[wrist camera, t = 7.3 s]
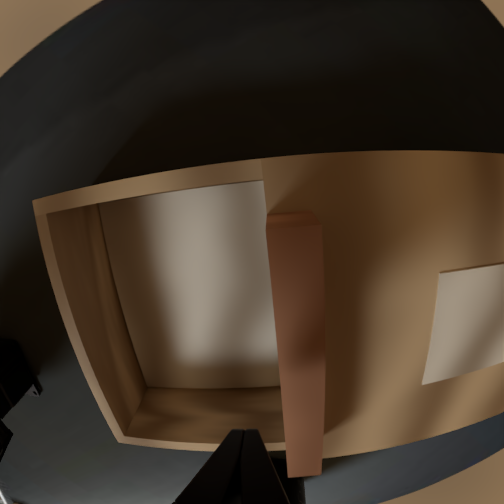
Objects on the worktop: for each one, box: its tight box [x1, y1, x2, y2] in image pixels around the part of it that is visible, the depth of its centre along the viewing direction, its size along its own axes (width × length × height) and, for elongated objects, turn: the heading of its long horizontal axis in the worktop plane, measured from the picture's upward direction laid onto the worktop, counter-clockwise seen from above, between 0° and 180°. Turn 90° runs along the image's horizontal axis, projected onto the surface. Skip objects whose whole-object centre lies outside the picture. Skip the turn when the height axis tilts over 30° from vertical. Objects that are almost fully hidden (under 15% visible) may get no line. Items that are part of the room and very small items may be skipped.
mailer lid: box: [261, 151, 504, 478], centre depth 12 cm, size 18×16×3 cm
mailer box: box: [32, 150, 421, 451], centre depth 17 cm, size 18×16×6 cm
